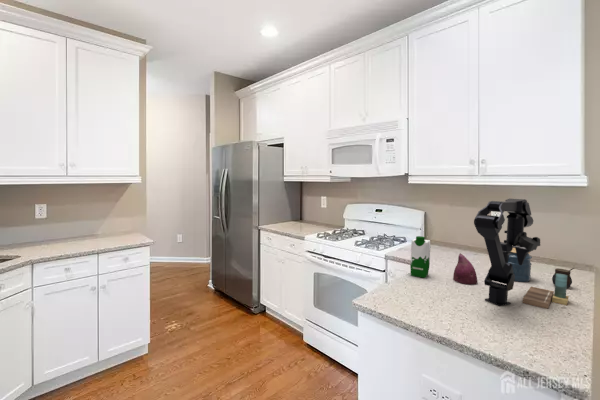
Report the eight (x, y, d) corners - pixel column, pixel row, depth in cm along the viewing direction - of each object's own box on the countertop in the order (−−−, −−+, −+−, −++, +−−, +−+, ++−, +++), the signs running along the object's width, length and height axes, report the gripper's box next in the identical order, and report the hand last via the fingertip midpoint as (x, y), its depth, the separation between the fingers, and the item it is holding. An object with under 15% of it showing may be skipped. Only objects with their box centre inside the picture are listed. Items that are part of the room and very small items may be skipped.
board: (547, 309, 119) (548, 303, 119) (522, 302, 125) (522, 297, 125) (553, 295, 134) (553, 290, 134) (530, 290, 139) (530, 286, 139)
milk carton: (408, 275, 158) (410, 236, 156) (412, 271, 165) (414, 234, 164) (426, 279, 153) (428, 238, 152) (430, 274, 160) (432, 236, 159)
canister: (534, 279, 156) (537, 244, 155) (523, 284, 149) (526, 247, 147) (506, 272, 167) (508, 240, 165) (494, 276, 159) (496, 242, 158)
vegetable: (451, 287, 151) (443, 257, 151) (458, 280, 158) (450, 251, 158) (475, 288, 143) (466, 256, 144) (481, 280, 151) (473, 249, 151)
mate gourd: (550, 283, 151) (552, 262, 150) (571, 286, 147) (573, 265, 146) (551, 286, 145) (553, 265, 145) (573, 290, 141) (575, 268, 140)
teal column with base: (566, 305, 123) (569, 278, 123) (552, 302, 127) (554, 275, 126) (568, 300, 128) (570, 274, 128) (553, 297, 132) (555, 272, 131)
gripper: (519, 233, 119) (517, 273, 120) (551, 231, 126) (548, 269, 127) (492, 228, 130) (490, 265, 131) (522, 226, 136) (520, 262, 137)
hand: (513, 265), depth 131 cm, fingers open, 9 cm apart
